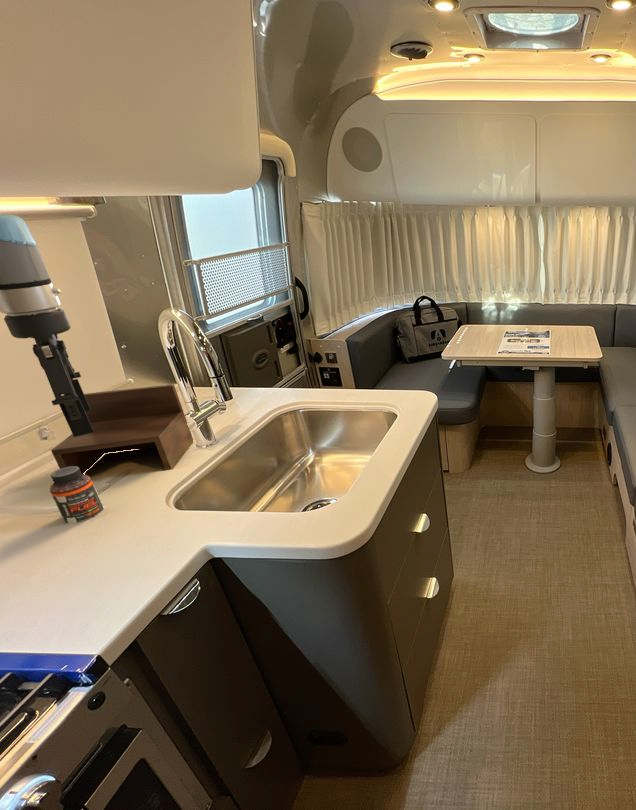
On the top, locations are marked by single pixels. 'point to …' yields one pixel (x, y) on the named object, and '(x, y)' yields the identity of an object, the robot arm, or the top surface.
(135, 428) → the shelf
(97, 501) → the supplement bottle
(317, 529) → the top surface
